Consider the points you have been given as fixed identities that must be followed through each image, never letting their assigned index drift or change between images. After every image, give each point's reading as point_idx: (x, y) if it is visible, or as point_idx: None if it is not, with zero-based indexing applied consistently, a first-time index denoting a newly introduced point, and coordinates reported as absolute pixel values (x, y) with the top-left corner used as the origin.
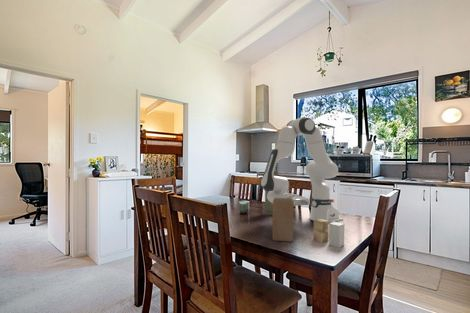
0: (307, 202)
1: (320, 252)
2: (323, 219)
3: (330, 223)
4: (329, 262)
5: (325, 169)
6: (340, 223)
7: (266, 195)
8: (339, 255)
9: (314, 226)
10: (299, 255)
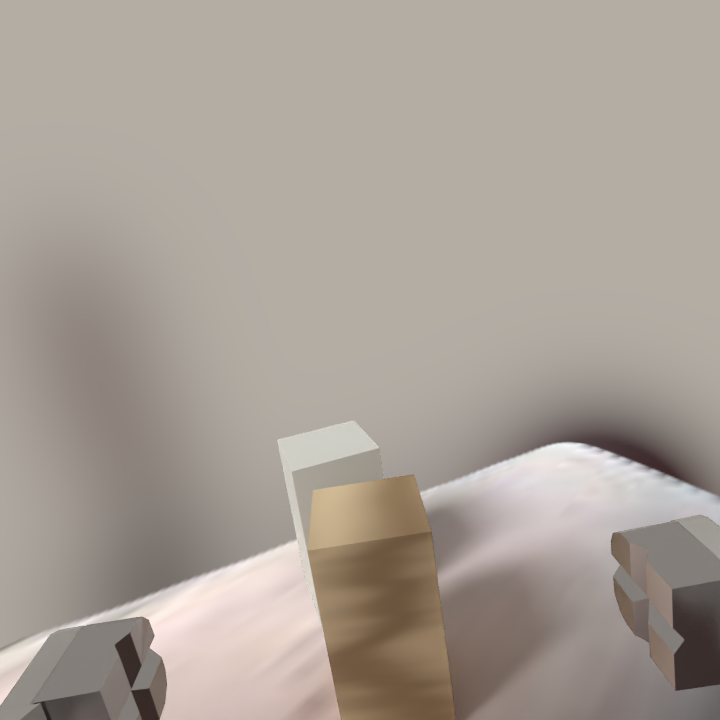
0: (146, 619)
1: (552, 518)
2: (310, 527)
3: (368, 448)
4: (563, 452)
5: None
6: (292, 445)
7: None
8: (465, 488)
9: (437, 592)
10: (712, 503)
